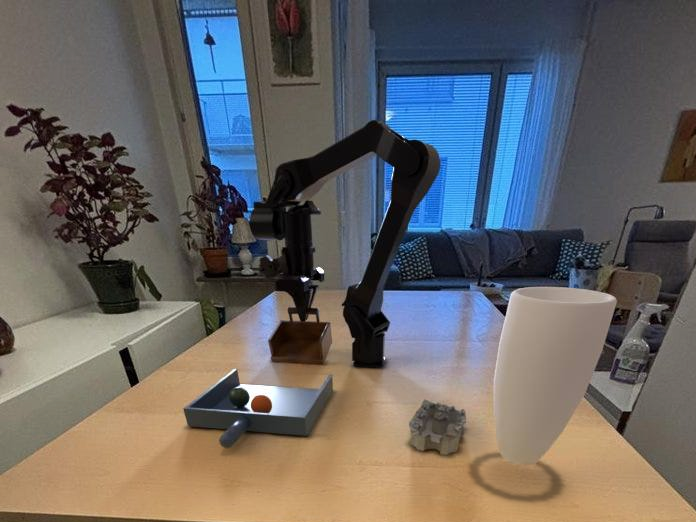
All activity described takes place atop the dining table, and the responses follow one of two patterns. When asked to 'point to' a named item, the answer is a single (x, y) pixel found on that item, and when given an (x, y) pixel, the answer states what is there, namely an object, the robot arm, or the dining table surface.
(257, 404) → the terracotta ball
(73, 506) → the dining table surface
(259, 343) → the dining table surface
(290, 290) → the robot arm
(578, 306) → the cup
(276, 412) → the dustpan
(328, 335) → the basket
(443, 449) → the grey castle model
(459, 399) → the dining table surface
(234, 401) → the green ball
